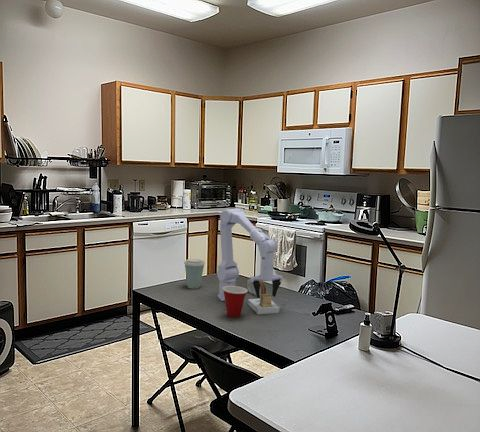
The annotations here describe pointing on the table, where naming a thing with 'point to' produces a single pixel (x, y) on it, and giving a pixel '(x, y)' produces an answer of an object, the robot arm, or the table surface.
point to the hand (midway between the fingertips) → (265, 296)
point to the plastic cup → (234, 300)
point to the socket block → (261, 310)
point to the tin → (252, 289)
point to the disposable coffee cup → (194, 272)
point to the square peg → (265, 300)
